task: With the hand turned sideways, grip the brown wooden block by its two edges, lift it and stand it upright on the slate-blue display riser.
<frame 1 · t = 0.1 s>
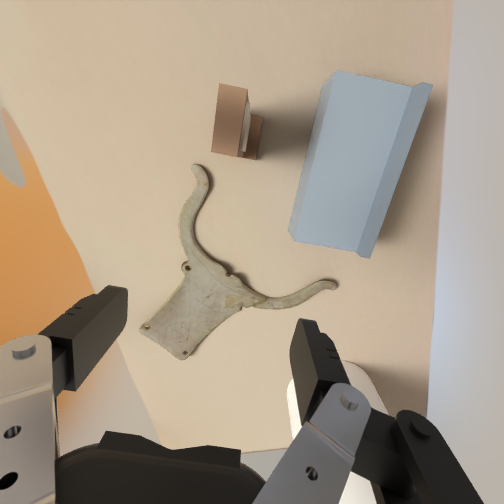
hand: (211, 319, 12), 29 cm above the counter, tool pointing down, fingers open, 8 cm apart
brown wooden block: (238, 135, 36), on the counter
display riser: (337, 170, 37), on the counter
decorative wall piece: (215, 288, 45), on the counter
cylinder: (328, 392, 52), on the counter
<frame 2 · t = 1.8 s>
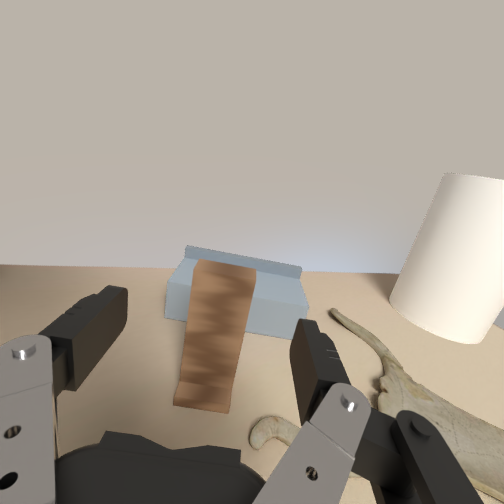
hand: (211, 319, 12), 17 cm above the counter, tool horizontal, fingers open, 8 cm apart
brown wooden block: (206, 384, 28), on the counter
display riser: (234, 310, 42), on the counter
decorative wall piece: (419, 424, 30), on the counter
cylinder: (431, 316, 55), on the counter
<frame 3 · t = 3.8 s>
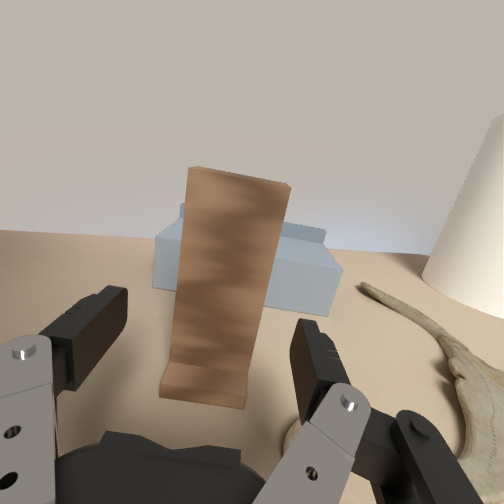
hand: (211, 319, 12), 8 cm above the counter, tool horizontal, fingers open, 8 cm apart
brown wooden block: (209, 367, 19), on the counter
display riser: (243, 282, 34), on the counter
cylinder: (474, 295, 46), on the counter
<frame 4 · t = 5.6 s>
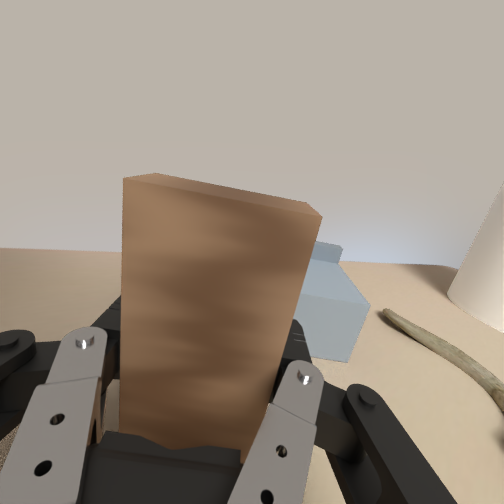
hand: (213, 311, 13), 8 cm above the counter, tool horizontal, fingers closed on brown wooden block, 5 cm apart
brown wooden block: (184, 473, 13), on the counter, touching gripper
display riser: (240, 312, 27), on the counter
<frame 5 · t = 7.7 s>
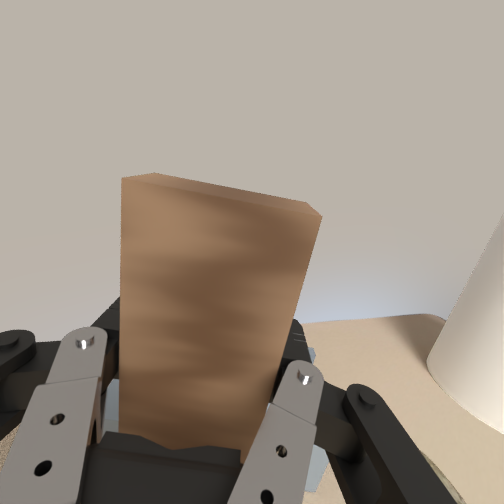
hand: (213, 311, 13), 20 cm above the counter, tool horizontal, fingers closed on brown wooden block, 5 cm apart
brown wooden block: (184, 474, 13), point 12 cm above the counter, touching gripper
display riser: (214, 424, 27), on the counter
cylinder: (487, 392, 40), on the counter
when the fingers open (15 cm above the counter, at t = 9.9 s): brown wooden block drops 1 cm, resting on display riser.
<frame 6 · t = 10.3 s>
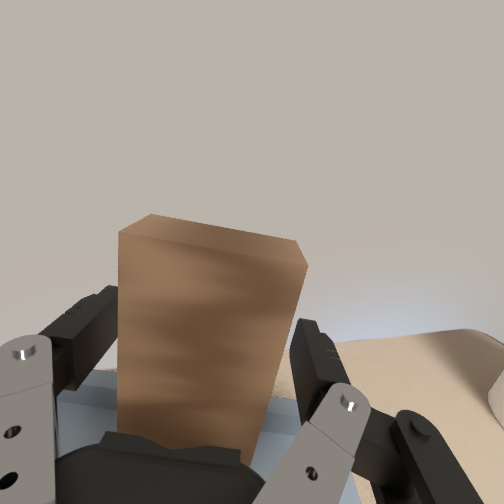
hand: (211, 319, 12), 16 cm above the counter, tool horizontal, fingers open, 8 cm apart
brown wooden block: (181, 493, 13), point 6 cm above the counter, touching display riser
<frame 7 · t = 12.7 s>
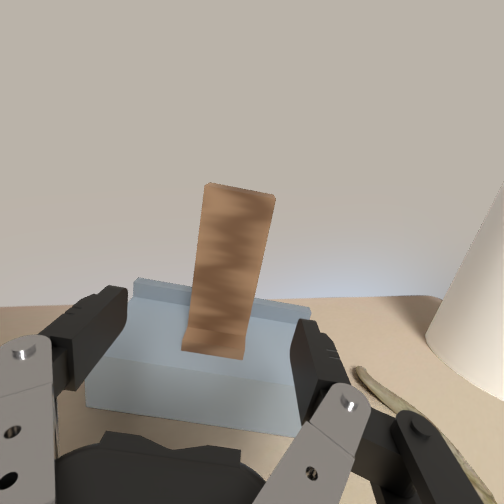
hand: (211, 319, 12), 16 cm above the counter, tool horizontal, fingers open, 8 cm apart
brown wooden block: (216, 333, 25), point 6 cm above the counter, touching display riser
display riser: (209, 378, 28), on the counter
cylinder: (486, 364, 40), on the counter
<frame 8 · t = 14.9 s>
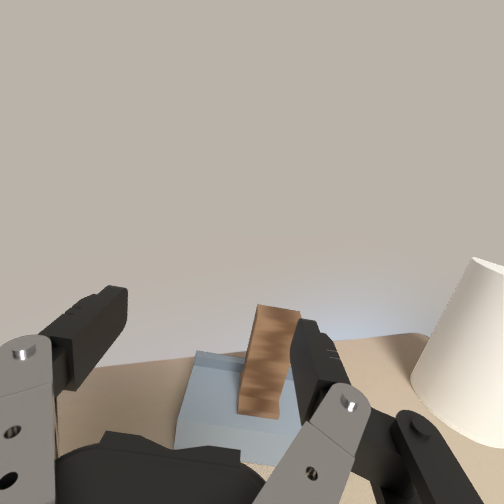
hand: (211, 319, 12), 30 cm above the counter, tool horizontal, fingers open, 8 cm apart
brown wooden block: (257, 397, 36), point 6 cm above the counter, touching display riser
display riser: (249, 425, 39), on the counter
cylinder: (457, 402, 51), on the counter
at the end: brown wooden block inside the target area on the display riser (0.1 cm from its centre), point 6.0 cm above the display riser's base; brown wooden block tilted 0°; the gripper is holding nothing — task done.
